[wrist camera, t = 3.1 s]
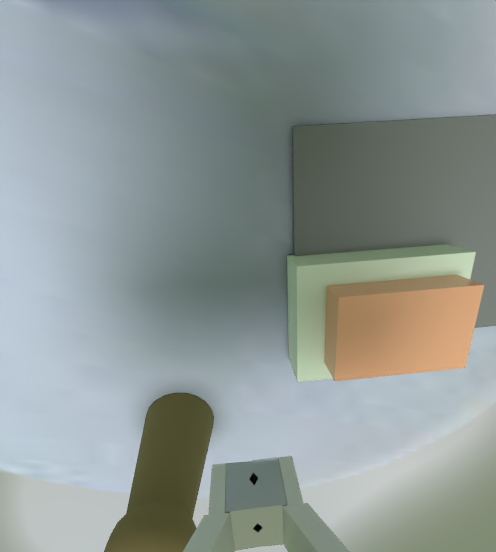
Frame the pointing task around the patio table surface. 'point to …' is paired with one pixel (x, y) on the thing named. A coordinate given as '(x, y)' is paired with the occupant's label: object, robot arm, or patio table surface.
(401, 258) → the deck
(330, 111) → the patio table surface
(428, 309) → the block
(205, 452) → the cork
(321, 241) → the mat
